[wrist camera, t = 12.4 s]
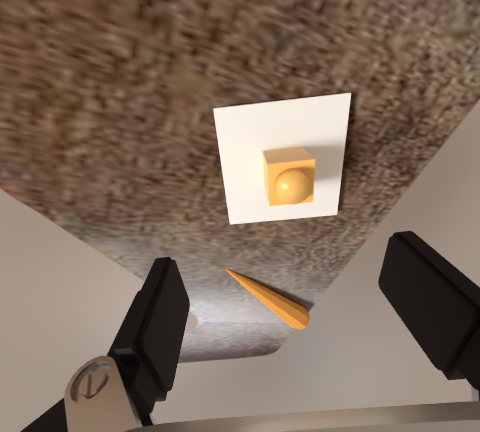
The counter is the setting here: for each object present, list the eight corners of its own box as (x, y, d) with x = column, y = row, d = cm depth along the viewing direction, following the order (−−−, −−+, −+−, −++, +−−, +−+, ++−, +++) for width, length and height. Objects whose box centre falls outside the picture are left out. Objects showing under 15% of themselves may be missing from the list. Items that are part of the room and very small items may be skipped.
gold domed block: (262, 150, 29) (268, 168, 23) (301, 146, 29) (319, 162, 22) (264, 187, 31) (271, 212, 25) (300, 183, 31) (316, 208, 25)
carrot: (306, 306, 47) (317, 319, 42) (293, 323, 47) (302, 338, 42) (229, 253, 42) (232, 261, 38) (214, 272, 42) (216, 282, 38)
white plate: (214, 108, 28) (208, 111, 23) (346, 92, 27) (371, 93, 22) (230, 220, 35) (228, 241, 30) (333, 211, 35) (349, 231, 30)
